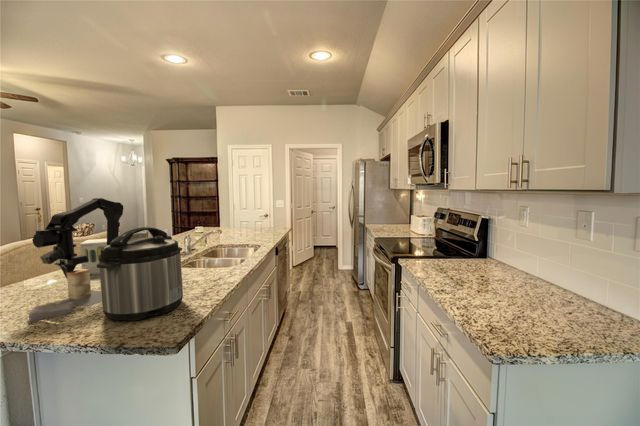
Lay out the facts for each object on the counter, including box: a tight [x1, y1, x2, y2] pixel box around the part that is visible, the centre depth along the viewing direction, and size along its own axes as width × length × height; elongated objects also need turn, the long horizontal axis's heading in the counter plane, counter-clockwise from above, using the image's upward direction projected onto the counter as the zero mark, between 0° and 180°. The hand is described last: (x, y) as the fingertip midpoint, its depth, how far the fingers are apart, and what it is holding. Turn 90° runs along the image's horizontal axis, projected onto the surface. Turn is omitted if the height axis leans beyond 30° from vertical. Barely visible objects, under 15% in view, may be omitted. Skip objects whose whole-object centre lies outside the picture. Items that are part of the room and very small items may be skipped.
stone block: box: [28, 302, 74, 323], centre depth 115 cm, size 12×5×10 cm
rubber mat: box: [57, 289, 102, 307], centre depth 130 cm, size 14×18×1 cm
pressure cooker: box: [97, 226, 184, 321], centre depth 118 cm, size 30×28×32 cm
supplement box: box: [79, 238, 107, 275], centre depth 173 cm, size 13×13×18 cm
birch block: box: [66, 268, 92, 299], centre depth 131 cm, size 6×5×11 cm
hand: (68, 278), depth 133 cm, fingers closed
